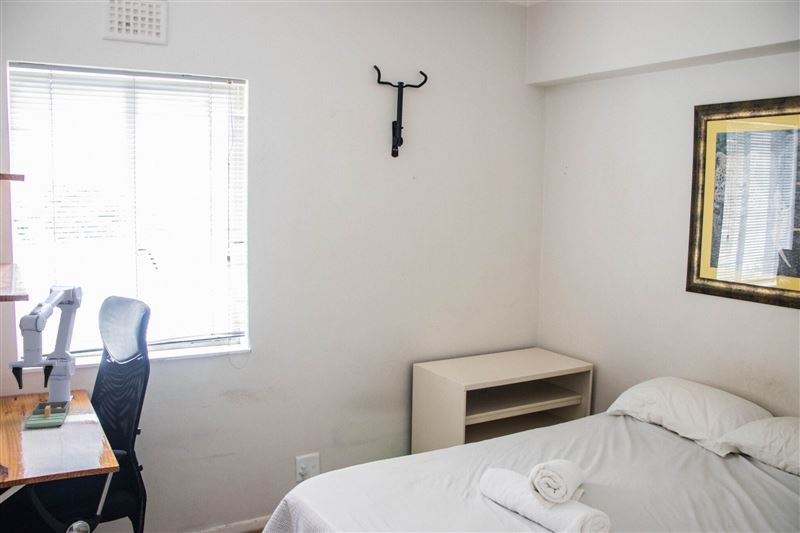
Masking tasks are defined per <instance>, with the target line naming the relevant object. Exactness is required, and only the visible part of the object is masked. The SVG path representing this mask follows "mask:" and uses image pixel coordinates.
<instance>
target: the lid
mask: <svg viewBox="0 0 800 533" xmlns="http://www.w3.org/2000/svg"><path fill="white" fill-rule="evenodd" d="M66 417H67V416H66V413H56V414H51V406H46V408H45V414H42V415H33V414H31V415H30V416H29V419H28V420H27V421H26V423H25V427H26V428H30V429H37V428H53V427H59V425H60V426H61V425H63V422H64V420H65V419H66Z"/></svg>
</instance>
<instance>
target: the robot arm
mask: <svg viewBox="0 0 800 533" xmlns="http://www.w3.org/2000/svg"><path fill="white" fill-rule="evenodd" d="M82 300H83V290H82V287H81V286H80V285H79V284H57V283H55V284H53V285H52V286H51V287H50V288H49V295H48V297H47V298H46V299H45V300H44V302H39V303H37V305H36V306H35V307H34V308H33V309H32V310H31V311H30V313H28V314H25V315H23V316H22V317H21V318H20V320H19V324H18V327H19V330H20V332H21V333H20V335H21V337H22V340H23V341H22V343H23V345H22V346H23V348H22V350H23V354H22V355H23V356H22V357H23V360H21V361H11V362H9V363H8V369H9V370H11V372H12V375H13V376H14V378H15V380H16V383H17V385H18V390H23V388H24V387H23V386H24V385H23V370H24V369H27V368H42V373H43V375H44V377H43V379H44V382H43V388H44V389H47V388H48V399H47V401H46V402H58V401H69V403H71V402H72V399H73V398H74V395H72V394H71V377H73V376H74V374H75V372H76V369H77V368H76V361H77V360H76V357H75V356H74V355H73V354H71V352H70V350H71V342H72V338H73V337H72V336H73V331H74V327H75V321H76V314H77V310H78V309H79V308H80V307H81V304H82ZM55 307H57V308H59V309H60V310H61V313H60V319H59V324H58V328H57V334H56V339H55V345H54V350H53V351H52V352H51V353H49V354H48V355H46V359H43V331H44V330H45V329H46V324H47V322H48V319H49V318H50V317H51V316H52V315H53V314H54V308H55Z"/></svg>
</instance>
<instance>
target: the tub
mask: <svg viewBox="0 0 800 533" xmlns="http://www.w3.org/2000/svg"><path fill="white" fill-rule="evenodd" d="M70 403H71V402H70ZM70 403H69V401H58V402H47V401H45V402H37V404H36V405H35V407H34V408H33V409H32V415H42V414H45V408H46V406H51V414H56V413H66V417H67V415H68V414H69V411H70V407H71V406H70Z"/></svg>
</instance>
